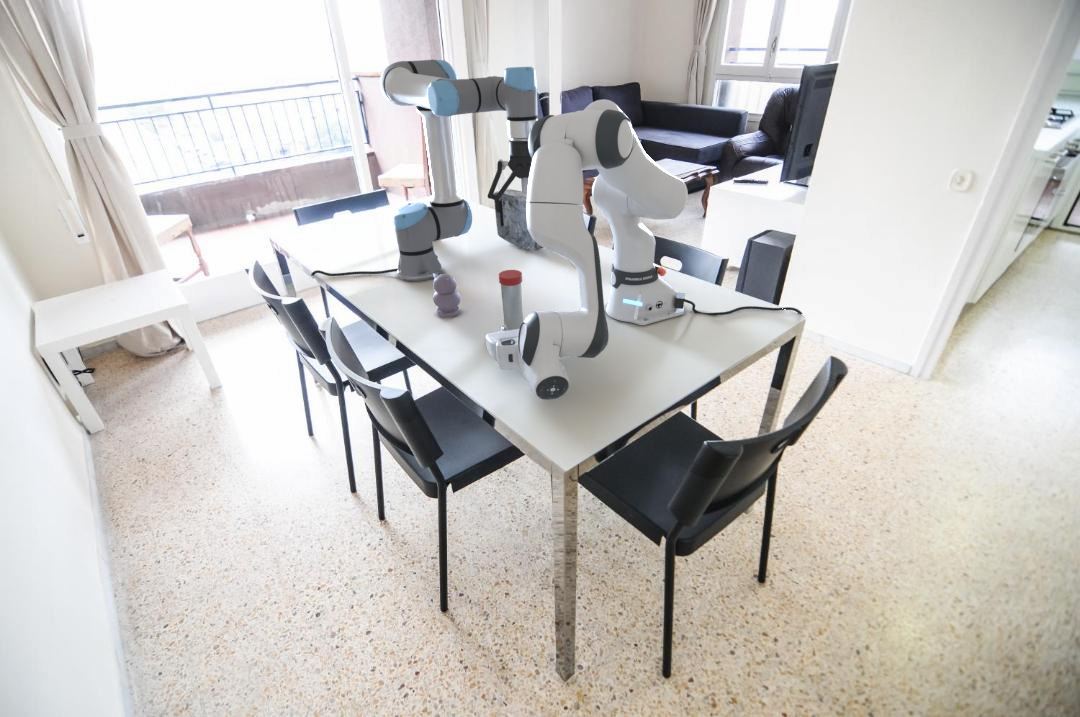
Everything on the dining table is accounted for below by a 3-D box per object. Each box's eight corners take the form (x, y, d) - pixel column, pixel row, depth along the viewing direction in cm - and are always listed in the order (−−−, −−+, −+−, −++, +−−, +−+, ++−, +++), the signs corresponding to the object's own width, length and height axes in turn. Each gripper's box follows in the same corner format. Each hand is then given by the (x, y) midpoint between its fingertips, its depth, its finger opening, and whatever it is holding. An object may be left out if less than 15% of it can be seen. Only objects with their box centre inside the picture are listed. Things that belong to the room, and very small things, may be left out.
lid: (494, 283, 130) (494, 276, 129) (507, 275, 135) (507, 268, 134) (514, 287, 128) (513, 280, 126) (526, 279, 132) (526, 272, 131)
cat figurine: (468, 312, 148) (463, 274, 142) (447, 321, 143) (441, 282, 137) (450, 304, 153) (445, 267, 147) (429, 313, 148) (423, 275, 142)
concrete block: (553, 252, 189) (552, 199, 179) (534, 258, 185) (532, 204, 175) (514, 236, 208) (511, 187, 198) (496, 241, 204) (492, 191, 193)
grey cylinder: (500, 330, 138) (496, 277, 130) (511, 322, 142) (507, 270, 133) (516, 334, 135) (513, 280, 127) (527, 326, 139) (524, 273, 131)
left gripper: (573, 134, 126) (573, 218, 137) (475, 138, 127) (483, 221, 138) (574, 138, 120) (574, 226, 131) (471, 142, 121) (480, 229, 132)
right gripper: (577, 332, 115) (560, 308, 127) (490, 346, 111) (481, 319, 123) (577, 356, 118) (560, 329, 130) (492, 370, 114) (483, 341, 126)
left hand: (527, 223), depth 134 cm, fingers open, 13 cm apart
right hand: (521, 325), depth 126 cm, fingers open, 8 cm apart
